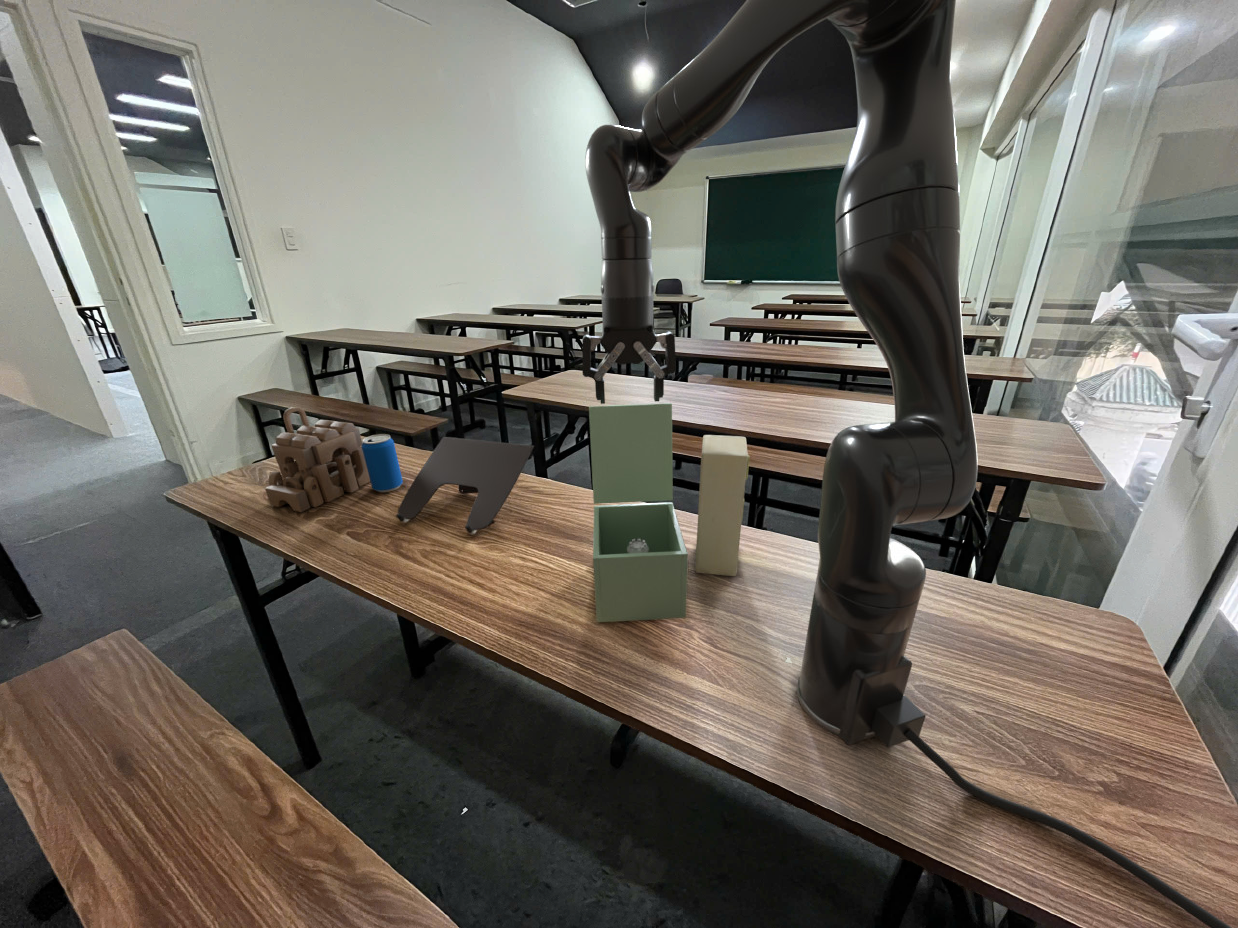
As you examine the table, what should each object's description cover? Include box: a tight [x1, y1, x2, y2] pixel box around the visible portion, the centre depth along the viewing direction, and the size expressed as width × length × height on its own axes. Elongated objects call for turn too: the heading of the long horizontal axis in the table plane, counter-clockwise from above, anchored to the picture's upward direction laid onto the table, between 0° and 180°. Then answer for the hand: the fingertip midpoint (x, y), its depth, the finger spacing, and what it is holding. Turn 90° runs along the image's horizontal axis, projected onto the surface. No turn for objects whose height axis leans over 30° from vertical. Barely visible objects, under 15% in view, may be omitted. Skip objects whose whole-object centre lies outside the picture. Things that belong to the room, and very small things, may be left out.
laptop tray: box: [395, 436, 535, 536], centre depth 100 cm, size 23×23×9 cm
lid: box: [588, 402, 674, 505], centre depth 77 cm, size 15×13×5 cm
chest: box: [592, 501, 689, 623], centre depth 72 cm, size 15×13×11 cm
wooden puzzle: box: [264, 406, 371, 513], centre depth 107 cm, size 22×15×19 cm, turn 158°
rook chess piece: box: [627, 539, 649, 554], centre depth 71 cm, size 4×4×8 cm
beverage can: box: [361, 433, 404, 493], centre depth 107 cm, size 6×6×12 cm
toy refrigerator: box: [694, 434, 751, 577], centre depth 76 cm, size 8×7×21 cm
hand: (629, 401), depth 76 cm, fingers open, 8 cm apart
